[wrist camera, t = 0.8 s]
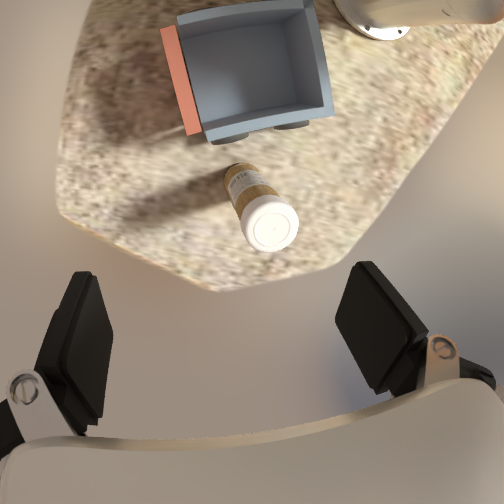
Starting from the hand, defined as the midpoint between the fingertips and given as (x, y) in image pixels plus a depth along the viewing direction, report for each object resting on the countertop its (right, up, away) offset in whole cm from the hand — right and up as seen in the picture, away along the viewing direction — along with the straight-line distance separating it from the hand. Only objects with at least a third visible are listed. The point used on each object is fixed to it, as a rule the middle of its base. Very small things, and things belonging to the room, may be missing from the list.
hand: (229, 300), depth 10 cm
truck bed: (0, +22, +17) cm, 28 cm away
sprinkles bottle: (0, +10, +24) cm, 26 cm away
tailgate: (-6, +19, +16) cm, 26 cm away
